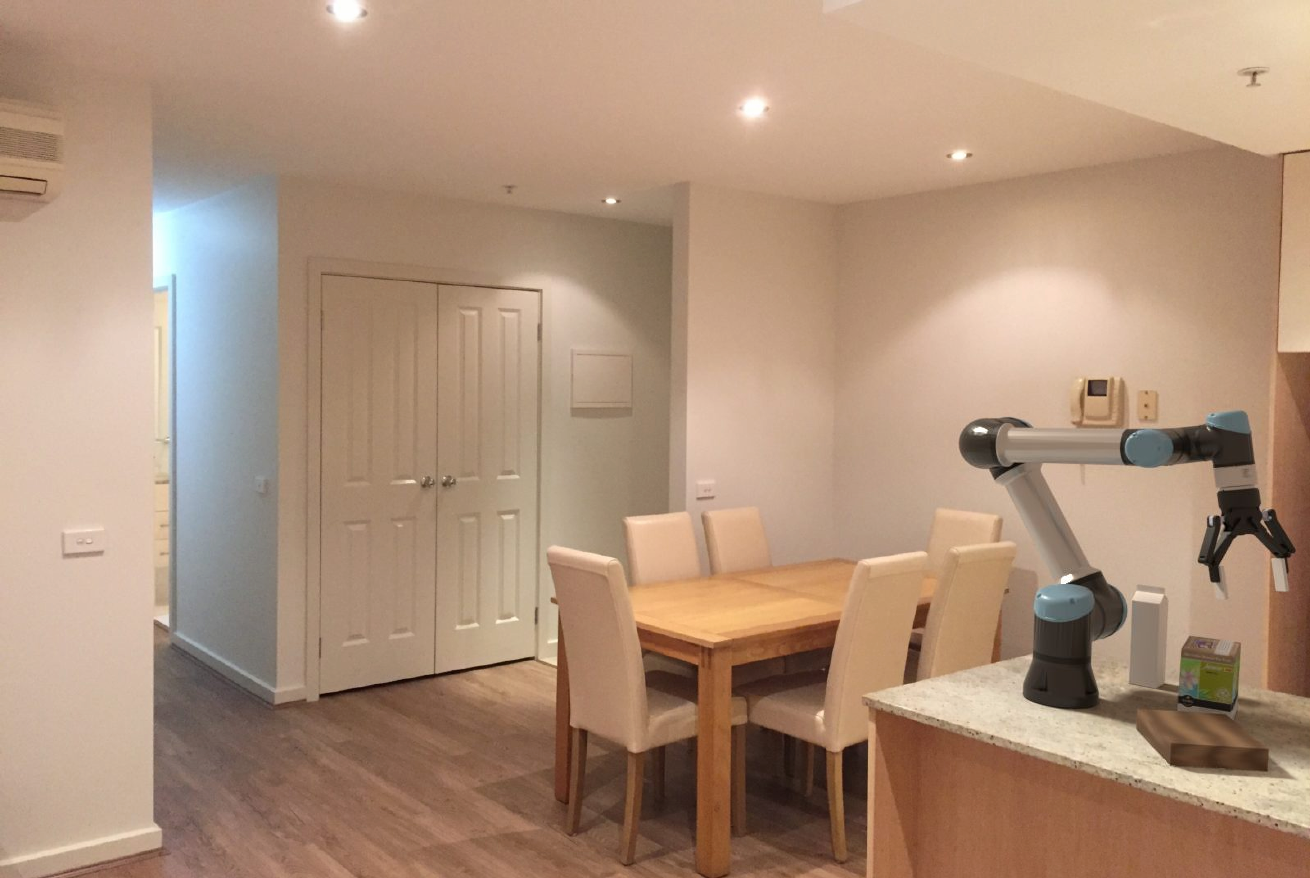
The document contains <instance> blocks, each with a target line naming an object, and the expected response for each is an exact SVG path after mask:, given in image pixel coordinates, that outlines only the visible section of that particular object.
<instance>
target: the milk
mask: <svg viewBox="0 0 1310 878" xmlns="http://www.w3.org/2000/svg"><path fill="white" fill-rule="evenodd" d="M1165 590H1166V589H1165V588H1164V587H1161V586H1154V585H1148V584H1139V583H1138V584H1137V585H1136V591H1135V593H1134V595H1133V597H1132V598H1131V611H1130V612H1131V614H1130V616H1131V617H1130V618H1131V619H1130V636H1129V637H1130V640H1129V641H1130V642H1129V660H1128V661H1129V662H1128V663H1129V664H1128V684H1131V685H1135V686H1141V687H1146V688H1150V689H1151V688H1152V689H1158V688H1159V687H1162V686H1163V685H1164V684H1166V667H1167V666H1166V663H1167V646H1168V645H1167V643H1168V642H1167V641H1168V623H1169V622H1168V619H1169V617H1168V616H1169V599H1168V597H1167V596H1166V591H1165Z"/></svg>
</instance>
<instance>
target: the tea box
mask: <svg viewBox="0 0 1310 878" xmlns="http://www.w3.org/2000/svg"><path fill="white" fill-rule="evenodd" d="M1241 645H1242V643H1241V642H1239V641H1233V640H1225V639H1217V638H1210V637H1203V636H1196V635H1189V636H1188V638H1187V639H1186V641H1185V642H1184V644H1183V645H1182V647H1181V649H1180V660H1179V661H1180V662H1179V665H1180V666H1179V679H1178V690H1177V691H1178V692H1177V694H1178V695H1177V704H1176V705H1177V706H1176V707H1177V708H1176V711H1181V712H1199V713H1216V714H1226V715H1227V716H1228V717H1230V718H1231V719H1232V720H1233V721H1235V717H1236V714H1237V710H1238V702H1239V701H1238V699H1239V683H1240V682H1239V681H1240V670H1241V669H1240V666H1241V652H1242V651H1241V648H1242V646H1241Z"/></svg>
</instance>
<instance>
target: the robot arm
mask: <svg viewBox="0 0 1310 878" xmlns="http://www.w3.org/2000/svg"><path fill="white" fill-rule="evenodd" d="M1205 418H1206V421H1205V423H1203V424H1199V425H1193V426H1189V425H1188V426H1181V427H1166V428H1165V427H1163V428H1102V427H1101V428H1096V427H1093V428H1091V427H1090V428H1086V427H1085V428H1083V427H1081V428H1080V427H1066V428H1065V427H1034V426H1033V425H1032V424H1030V423H1029V422H1028V421H1027V420H1024V419H1021V418H1017V417H1012V416H1004V417H994V418H993V417H991V418H990V417H983V418H982V417H981V418H978V419H975V420H973V421H970V422H969V423H968V424H966V425H965V427H963V429H962V430H961V432H960V435H959V439H958V449H959V453H960V454H961V456H962V458H963V459H964V461H966V463H967V464H969V466H972V467H974V468H977V469H983V470H989V472H990V475H991V476H992V479H993V480H994V483H996V484H998V485H1000V486H1004V487H1005V489H1006V491H1007V493H1008V495H1009V497H1010V499H1011V501H1012V502H1013V505H1014V506H1015V508H1016V511H1017V513H1018V514H1019V517H1020V518H1021V520H1022V522H1023V524H1024V526H1025V529H1026V530H1027V532H1028V535H1029V537H1030V538H1031V540H1032V542H1033V543H1034V546H1035V547H1036V550H1037V552H1038V554H1039V556H1040V557H1041V560H1042V562H1043V563H1044V566H1045V567H1046V569H1047V572H1048V574H1049V576H1050V578H1051V580H1052V582H1053V583H1052V584H1049V585H1046V586H1043V587H1041V588H1039V589H1038V590H1037V591H1036V593H1035V597H1034V604H1033V635H1032V637H1033V640H1032V659H1031V661H1030V662H1031V663H1030V665H1029V668H1028V670H1027V673H1026V675H1025V678H1024V681H1023V683H1022V696H1023V697H1025V698H1026V699H1027V700H1030V701H1031V702H1034V703H1038V704H1042V705H1045V706H1046V705H1047V706H1050V707H1057V708H1067V709H1085V708H1092V707H1095V706H1097V705H1098V704H1099V703H1100V691H1099V687H1098V684H1097V680H1096V677H1095V674H1094V670H1093V668H1092V666H1093V665H1092V654H1093V653H1092V650H1093V642H1096V641H1098V640H1104V639H1106V638H1108V637H1111V636H1113V635H1114V634H1115V633H1117V632H1118V631H1120V630H1121V629H1122V627H1123V626H1124V624H1125V623H1126V620H1127V619H1128V612H1129V611H1128V604H1127V601H1126V598H1125V596H1124V595H1123V593H1122V592H1121V591H1120V589H1118V588H1117V587H1116V586H1114V585H1112V584H1110V583H1108V581H1107V580H1106V577H1105V576H1104V574H1103V572H1102V570H1101V569H1099V568H1096V567H1093V566H1092V565H1091V564H1090V563H1089V560H1088V559H1087V556H1086V555H1085V553H1084V551H1083V549H1082V547H1081V545H1080V544H1079V541H1078V540H1077V537H1076V536H1075V533H1074V532H1073V530H1072V528H1071V526H1070V525H1069V523H1068V520H1067V519H1066V517H1065V515H1064V512H1063V510H1062V509H1061V507H1060V505H1059V503H1058V502H1057V500H1056V498H1055V495H1054V494H1053V492H1052V490H1051V487H1050V486H1049V484H1048V483H1047V480H1046V479H1045V477H1044V475H1043V473H1042V470H1041V469H1042V466H1043V464H1063V465H1064V464H1065V465H1067V464H1068V465H1095V466H1098V465H1100V466H1128V467H1129V466H1130V467H1140V468H1144V469H1145V468H1146V469H1147V468H1148V469H1151V468H1152V469H1154V468H1159V467H1168V466H1170V467H1171V466H1175V465H1184V464H1194V463H1200V462H1210V461H1211V462H1212V469H1213V478H1214V483H1215V484H1214V485H1215V488H1216V489H1219V490H1218V491H1217V493H1216V497H1217V504H1218V508H1219V510H1220V511H1221V513H1220V515H1218V514H1217V515H1214V514H1213V515H1207V517H1206V530H1205V533H1204V536H1203V540H1202V544H1201V546H1200V550H1199V554H1198V557H1197V563H1198V564H1201V565H1204V566H1206V567H1208V573H1209V582H1211V583H1213V588H1214V596H1215V600H1226V601H1227V600H1229V593H1228V586H1227V578H1226V572H1225V571H1226V570H1225V565H1221V563H1222V561H1223V560H1224V557H1225V555H1226V554H1227V551H1228V550H1229V548H1230V547H1231V545H1232V543H1233V541H1234V540H1235V539H1236V538H1237V537H1238V536H1246V535H1253V536H1255V538H1257V539H1258V541H1259V542H1260V543H1261V544H1262V545H1263V546H1265V548H1266V549H1267V550H1268V551H1269V552H1270V553H1271V554H1272V555H1273V556H1274V557H1273V558H1270V560H1271V566H1272V567H1271V568H1272V573H1273V579H1274V580H1273V581H1274V588H1275V591H1276V592H1285V593H1286V592H1290V588H1289V581H1288V580H1289V579H1288V574H1289V572H1290V569H1289V563H1288V562H1289V561H1288V558H1289V559H1290V558H1291V557H1292V554H1295V553H1296V552H1297V549H1296V548H1295V545H1294V544H1293V543H1292V540H1291V539H1290V538H1289V536H1288V534H1287V533H1286V531H1285V529H1284V528H1283V527H1282V525H1281V523H1280V522H1279V520H1278V516H1277V512H1276V510H1275V508H1267V509H1266V508H1265V509H1262V510H1261V509H1260V506H1261V505H1262V500H1261V494H1260V488H1259V487H1256V485H1258V484H1259V479H1258V472H1257V465H1256V462H1255V461H1256V460H1255V451H1254V446H1253V445H1254V443H1253V436H1252V434H1253V433H1252V430H1251V426H1250V420H1249V416H1248V413H1247V412H1245V410H1239V409H1238V410H1229V411H1221V412H1220V411H1219V412H1214V413H1209V414H1207V415H1206V417H1205ZM1262 521H1263V524H1264V525H1263V524H1262V523H1261V522H1262ZM1221 526H1223V527H1222V529H1221ZM1265 526H1266V527H1265ZM1219 535H1220V536H1219Z"/></svg>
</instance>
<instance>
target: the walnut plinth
mask: <svg viewBox="0 0 1310 878" xmlns="http://www.w3.org/2000/svg"><path fill="white" fill-rule="evenodd" d="M1136 731H1137V732H1138V733H1139V734H1140V735H1141V736H1142V737H1143V739H1145V740H1146V742H1148V743H1149V745H1150V746H1151V747H1152V748H1153V749H1154V750H1155V751H1156V752H1157V754H1159V756H1160V757H1162V759H1165V760H1166V761H1165V760H1164V761H1165V762H1166V763H1167V764H1168V765H1169V764H1170V765H1169V766H1171V765H1176V767H1187V766H1193V767H1192V768H1204V767H1205V769H1218V768H1225V769H1224V770H1234V769H1237V770H1238V771H1253V772H1266V773H1267V772H1268V771H1269V753H1270V748H1269V747H1267V746H1266V745H1265V744H1263V742H1261V741H1260V740H1259V739H1257V737H1255V736H1254V735H1252V734H1251V733H1250V732H1249V731H1248V730H1246V729H1245V728H1244V727H1242V726H1241V725H1239V723H1237V722H1236V721H1235V720H1232V719H1231V718H1230V717H1228V716H1227V715H1226V714H1216V713H1199V712H1181V711H1177V710H1161V709H1146V708H1145V709H1142V708H1137V709H1136ZM1177 765H1178V766H1177Z"/></svg>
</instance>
